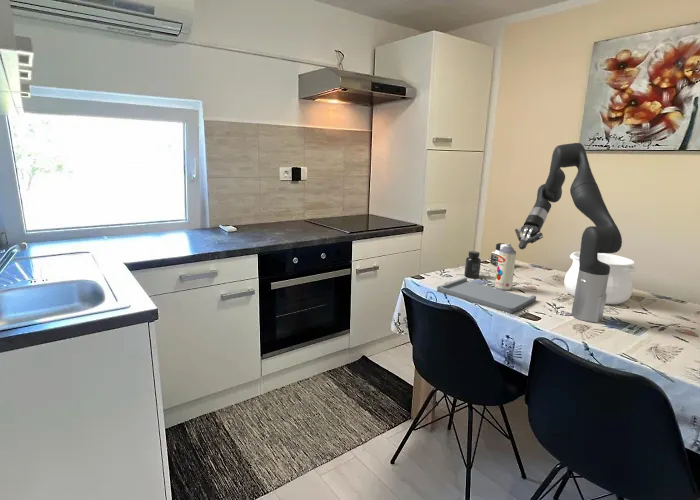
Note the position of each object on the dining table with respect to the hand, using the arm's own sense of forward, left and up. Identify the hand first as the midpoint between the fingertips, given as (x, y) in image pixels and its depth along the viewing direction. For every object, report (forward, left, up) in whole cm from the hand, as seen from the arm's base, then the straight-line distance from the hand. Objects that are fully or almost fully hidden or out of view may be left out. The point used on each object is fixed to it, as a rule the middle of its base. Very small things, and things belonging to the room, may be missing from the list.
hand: (521, 248), depth 180 cm
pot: (-30, -9, -17) cm, 35 cm away
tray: (0, +29, -16) cm, 33 cm away
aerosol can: (0, +13, -16) cm, 21 cm away
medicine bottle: (+19, -23, -17) cm, 34 cm away
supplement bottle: (+18, +8, -16) cm, 26 cm away
